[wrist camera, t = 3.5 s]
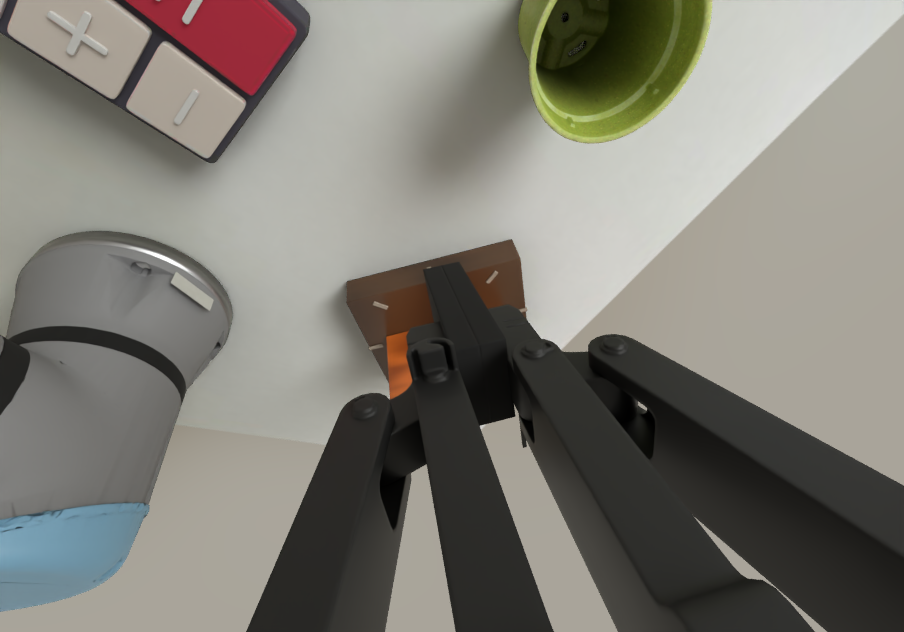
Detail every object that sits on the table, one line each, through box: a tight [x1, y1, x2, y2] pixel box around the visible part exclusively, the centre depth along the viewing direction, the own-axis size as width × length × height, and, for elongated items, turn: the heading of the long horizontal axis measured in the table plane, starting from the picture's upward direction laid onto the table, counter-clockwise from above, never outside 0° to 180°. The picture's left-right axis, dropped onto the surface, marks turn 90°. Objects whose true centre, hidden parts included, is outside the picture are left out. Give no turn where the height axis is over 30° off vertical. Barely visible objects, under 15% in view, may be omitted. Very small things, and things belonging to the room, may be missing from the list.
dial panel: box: [346, 239, 527, 382], centre depth 44 cm, size 16×16×3 cm
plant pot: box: [518, 0, 712, 143], centre depth 25 cm, size 9×9×9 cm
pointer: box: [386, 331, 412, 399], centre depth 40 cm, size 12×2×8 cm, turn 102°
